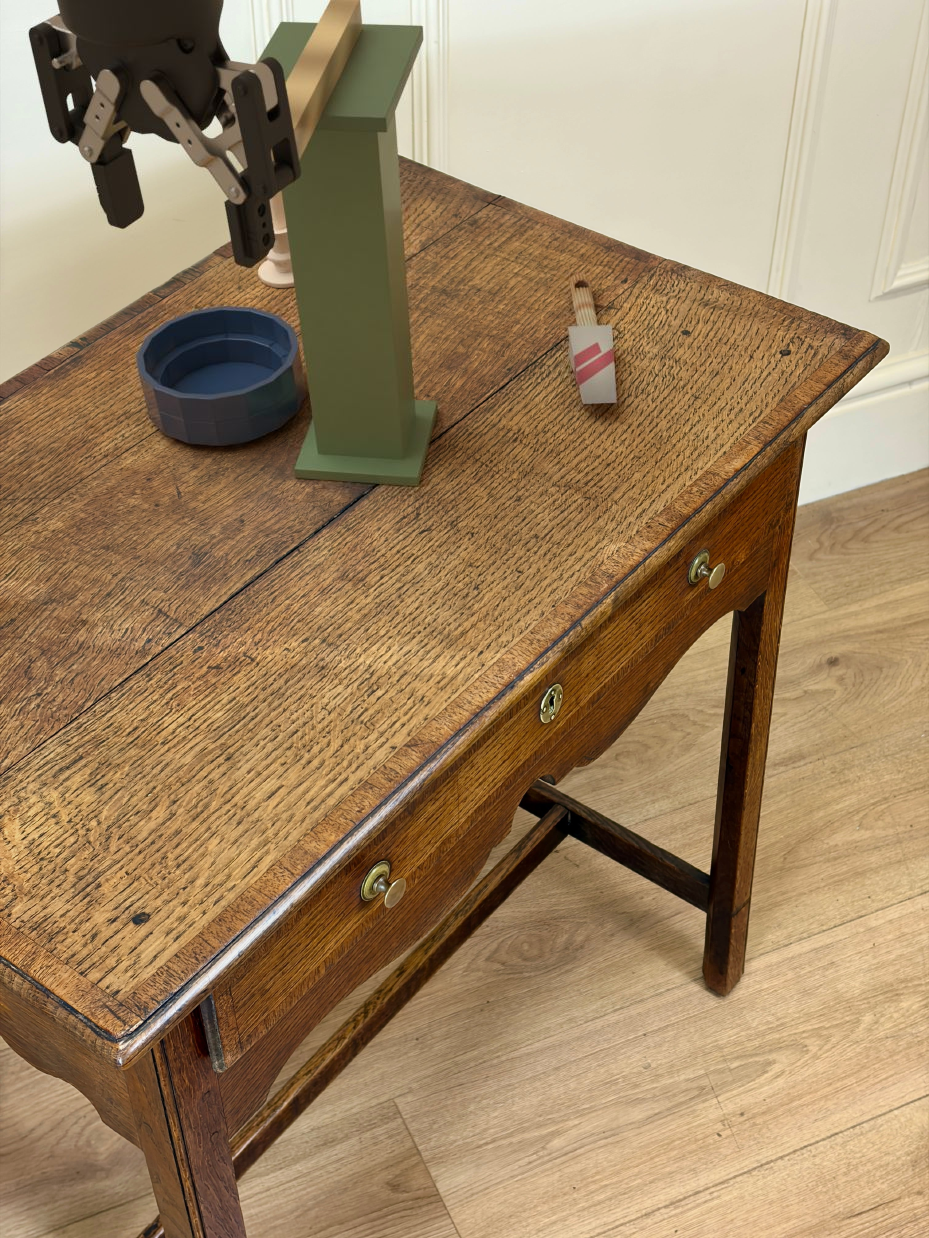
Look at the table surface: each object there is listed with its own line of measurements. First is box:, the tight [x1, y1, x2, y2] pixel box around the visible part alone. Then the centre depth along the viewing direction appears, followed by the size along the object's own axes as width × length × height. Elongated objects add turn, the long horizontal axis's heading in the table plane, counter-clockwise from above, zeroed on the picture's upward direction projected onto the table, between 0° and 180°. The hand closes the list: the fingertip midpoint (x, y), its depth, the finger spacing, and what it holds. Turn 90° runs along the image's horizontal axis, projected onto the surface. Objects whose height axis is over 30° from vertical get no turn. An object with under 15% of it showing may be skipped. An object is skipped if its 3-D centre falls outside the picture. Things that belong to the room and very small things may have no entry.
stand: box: [256, 21, 439, 487], centre depth 96 cm, size 10×14×31 cm
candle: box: [257, 191, 295, 289], centre depth 122 cm, size 5×5×10 cm
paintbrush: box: [567, 272, 618, 405], centre depth 114 cm, size 4×3×20 cm
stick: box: [271, 0, 363, 161], centre depth 81 cm, size 21×2×2 cm, turn 172°
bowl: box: [135, 305, 307, 447], centre depth 109 cm, size 13×13×6 cm
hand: (189, 240), depth 69 cm, fingers open, 8 cm apart
